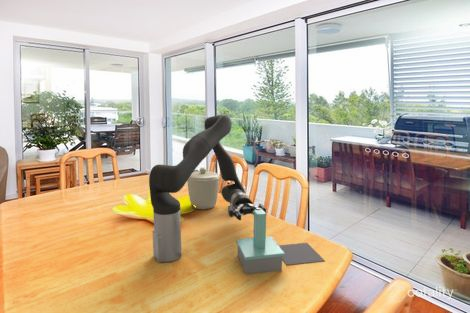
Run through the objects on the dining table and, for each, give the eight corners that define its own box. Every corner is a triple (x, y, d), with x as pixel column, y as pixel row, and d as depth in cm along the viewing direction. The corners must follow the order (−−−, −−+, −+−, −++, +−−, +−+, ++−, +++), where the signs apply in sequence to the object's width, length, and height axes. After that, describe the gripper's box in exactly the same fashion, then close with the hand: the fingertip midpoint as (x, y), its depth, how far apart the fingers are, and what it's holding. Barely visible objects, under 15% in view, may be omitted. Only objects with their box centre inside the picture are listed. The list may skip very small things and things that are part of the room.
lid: (284, 258, 99) (285, 217, 97) (245, 263, 96) (245, 220, 94) (271, 241, 112) (272, 204, 109) (236, 244, 109) (236, 206, 106)
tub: (281, 272, 100) (282, 255, 99) (246, 276, 98) (246, 259, 97) (269, 254, 112) (270, 239, 111) (237, 258, 109) (237, 242, 108)
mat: (324, 263, 106) (324, 260, 106) (286, 267, 103) (286, 264, 103) (306, 245, 120) (307, 242, 120) (272, 248, 117) (272, 245, 117)
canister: (226, 208, 160) (226, 169, 157) (195, 214, 151) (194, 173, 147) (210, 199, 176) (210, 163, 172) (181, 204, 166) (180, 166, 162)
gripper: (224, 195, 125) (232, 208, 110) (257, 193, 128) (270, 205, 113) (224, 212, 127) (232, 228, 111) (257, 210, 130) (270, 225, 114)
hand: (251, 217), depth 112 cm, fingers open, 8 cm apart
